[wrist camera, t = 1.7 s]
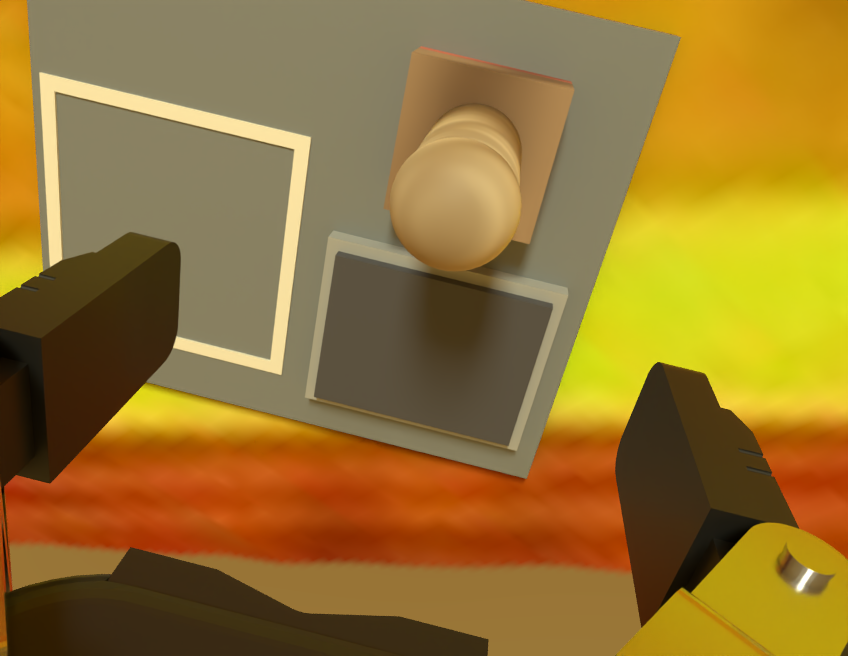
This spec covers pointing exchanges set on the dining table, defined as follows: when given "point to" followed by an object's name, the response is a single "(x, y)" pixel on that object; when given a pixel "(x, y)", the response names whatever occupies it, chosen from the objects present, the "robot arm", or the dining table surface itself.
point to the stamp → (472, 157)
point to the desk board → (334, 201)
